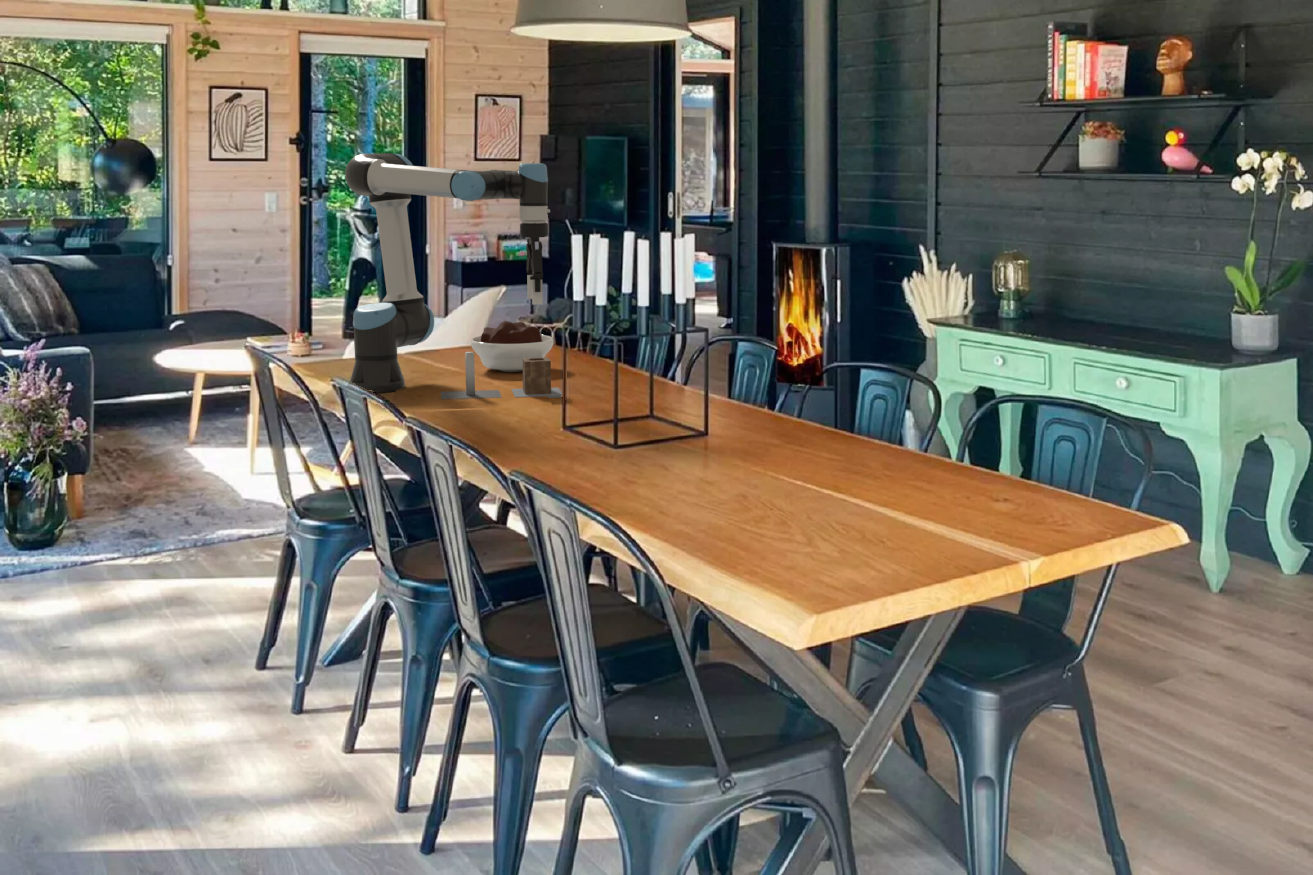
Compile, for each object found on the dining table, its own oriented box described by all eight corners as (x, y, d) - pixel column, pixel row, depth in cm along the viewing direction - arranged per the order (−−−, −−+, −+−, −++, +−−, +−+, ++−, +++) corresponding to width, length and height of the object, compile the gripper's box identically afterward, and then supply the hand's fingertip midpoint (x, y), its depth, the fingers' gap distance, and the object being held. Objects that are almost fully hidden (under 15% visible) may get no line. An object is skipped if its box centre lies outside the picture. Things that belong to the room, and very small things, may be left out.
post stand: (441, 401, 375) (440, 356, 373) (440, 393, 387) (438, 350, 384) (502, 399, 378) (501, 354, 376) (498, 391, 390) (497, 348, 387)
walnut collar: (525, 394, 382) (524, 361, 380) (523, 390, 388) (522, 357, 386) (551, 393, 383) (550, 360, 381) (548, 389, 390) (547, 357, 388)
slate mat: (515, 399, 378) (515, 396, 378) (511, 391, 391) (511, 388, 391) (563, 397, 381) (563, 395, 380) (558, 389, 393) (558, 387, 393)
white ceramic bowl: (492, 362, 444) (491, 314, 441) (566, 365, 436) (565, 317, 433) (457, 374, 421) (455, 323, 418) (534, 378, 413) (533, 326, 410)
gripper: (553, 224, 365) (553, 306, 369) (543, 219, 389) (544, 296, 393) (524, 224, 364) (525, 306, 368) (516, 219, 388) (517, 296, 392)
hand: (535, 301), depth 381 cm, fingers open, 13 cm apart
